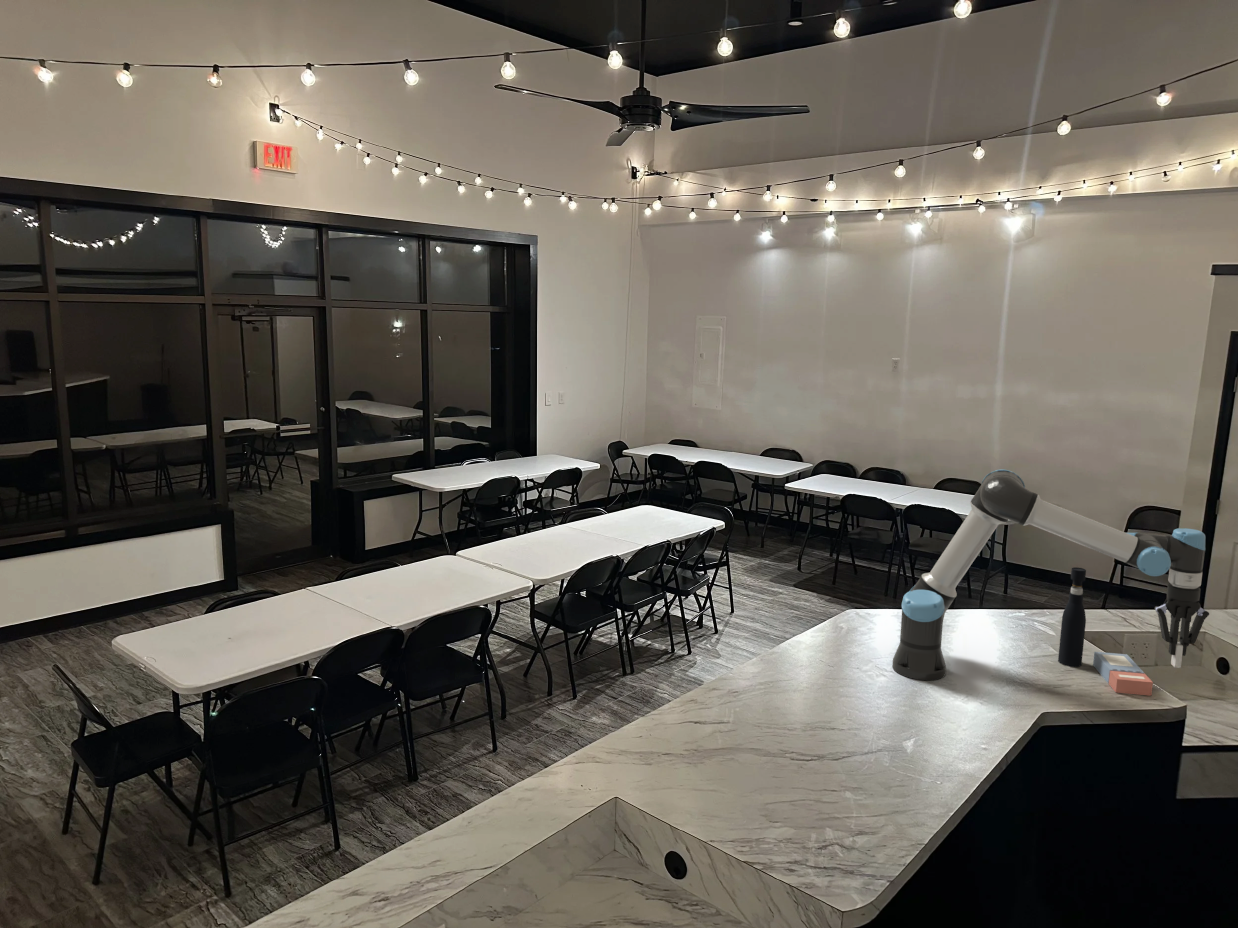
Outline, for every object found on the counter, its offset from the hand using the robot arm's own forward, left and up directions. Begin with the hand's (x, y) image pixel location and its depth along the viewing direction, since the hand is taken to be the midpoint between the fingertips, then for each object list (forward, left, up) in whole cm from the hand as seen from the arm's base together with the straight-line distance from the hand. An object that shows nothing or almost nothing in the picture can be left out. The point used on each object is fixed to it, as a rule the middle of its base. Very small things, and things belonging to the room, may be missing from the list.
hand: (1175, 665), depth 231 cm
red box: (-11, 0, -9) cm, 14 cm away
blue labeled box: (-11, +10, -9) cm, 17 cm away
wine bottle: (-22, +17, -9) cm, 29 cm away
